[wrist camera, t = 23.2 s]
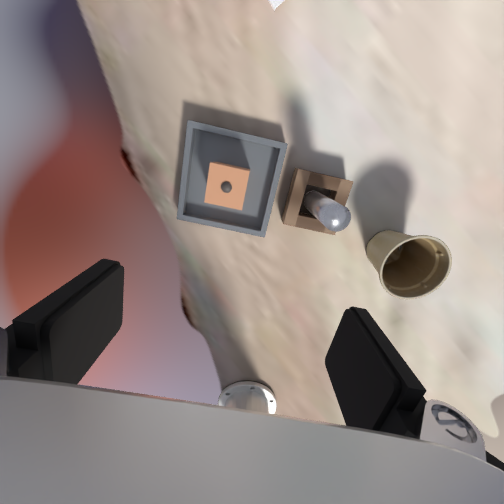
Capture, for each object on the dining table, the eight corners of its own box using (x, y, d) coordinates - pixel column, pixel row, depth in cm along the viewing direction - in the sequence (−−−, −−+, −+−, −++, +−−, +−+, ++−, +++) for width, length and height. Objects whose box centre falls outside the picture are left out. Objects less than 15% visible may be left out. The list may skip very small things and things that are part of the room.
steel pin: (319, 211, 39) (345, 233, 28) (300, 207, 39) (320, 228, 28) (324, 193, 38) (354, 208, 27) (306, 188, 38) (328, 202, 27)
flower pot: (346, 239, 41) (369, 259, 33) (401, 208, 39) (439, 222, 31) (368, 282, 44) (394, 310, 36) (420, 255, 42) (460, 279, 34)
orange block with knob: (243, 202, 38) (241, 210, 33) (211, 195, 38) (204, 202, 32) (250, 169, 36) (249, 171, 31) (216, 161, 36) (209, 162, 30)
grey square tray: (263, 232, 41) (264, 237, 38) (180, 215, 40) (176, 219, 37) (285, 144, 36) (287, 143, 34) (191, 122, 35) (187, 119, 33)
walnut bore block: (329, 229, 40) (334, 235, 38) (281, 219, 40) (283, 224, 37) (345, 179, 38) (353, 181, 35) (294, 167, 37) (298, 168, 34)
